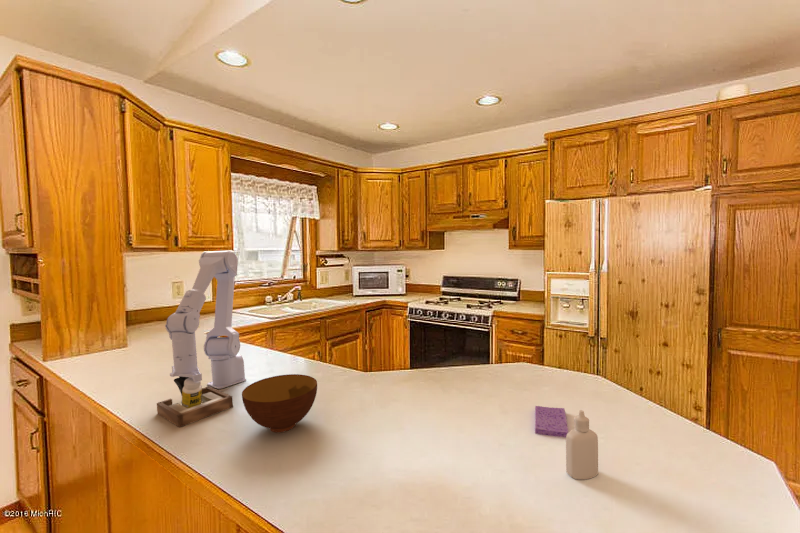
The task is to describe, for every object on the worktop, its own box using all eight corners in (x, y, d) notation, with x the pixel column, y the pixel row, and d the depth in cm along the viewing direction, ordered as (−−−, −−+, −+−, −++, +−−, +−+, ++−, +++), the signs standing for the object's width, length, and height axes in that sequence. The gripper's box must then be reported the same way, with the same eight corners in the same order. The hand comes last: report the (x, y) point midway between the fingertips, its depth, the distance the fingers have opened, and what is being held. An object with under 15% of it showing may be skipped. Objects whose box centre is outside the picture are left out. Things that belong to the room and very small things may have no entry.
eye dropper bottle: (564, 465, 72) (563, 404, 71) (596, 468, 70) (595, 407, 69) (567, 479, 67) (567, 415, 67) (601, 483, 66) (601, 417, 65)
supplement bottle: (189, 414, 101) (190, 387, 99) (177, 408, 102) (178, 381, 100) (205, 405, 105) (206, 379, 103) (193, 399, 107) (193, 373, 105)
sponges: (535, 435, 84) (534, 427, 84) (535, 411, 95) (535, 404, 95) (569, 440, 81) (568, 432, 81) (564, 414, 93) (564, 407, 93)
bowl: (248, 453, 80) (245, 408, 79) (241, 420, 96) (239, 382, 95) (327, 432, 88) (325, 391, 87) (309, 404, 104) (307, 369, 103)
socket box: (209, 395, 113) (208, 386, 113) (232, 406, 104) (232, 396, 104) (157, 413, 102) (156, 403, 102) (179, 427, 93) (178, 415, 93)
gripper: (158, 354, 106) (162, 400, 107) (180, 362, 97) (184, 413, 98) (185, 348, 112) (188, 392, 112) (208, 355, 103) (211, 403, 103)
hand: (188, 401), depth 105 cm, fingers closed, pressing on supplement bottle
